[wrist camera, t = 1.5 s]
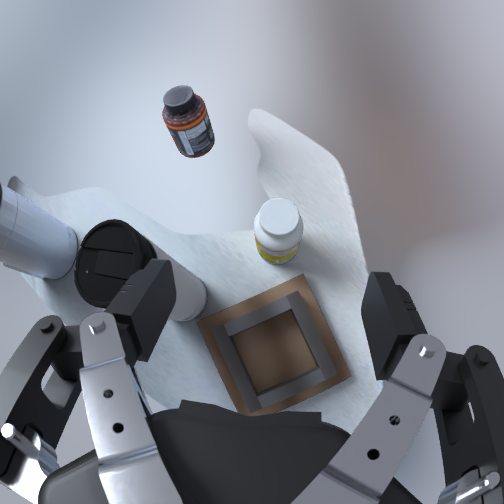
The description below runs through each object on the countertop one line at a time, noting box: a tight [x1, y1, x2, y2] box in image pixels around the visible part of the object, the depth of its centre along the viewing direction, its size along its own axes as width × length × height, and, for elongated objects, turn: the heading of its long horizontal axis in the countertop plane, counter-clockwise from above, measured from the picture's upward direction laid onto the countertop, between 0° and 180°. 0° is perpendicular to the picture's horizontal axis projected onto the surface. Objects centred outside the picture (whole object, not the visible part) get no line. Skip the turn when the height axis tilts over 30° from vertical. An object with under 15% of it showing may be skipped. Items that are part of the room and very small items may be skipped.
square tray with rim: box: [197, 274, 351, 416], centre depth 32 cm, size 14×14×4 cm
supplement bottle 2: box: [254, 198, 303, 264], centre depth 33 cm, size 5×5×10 cm
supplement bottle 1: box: [162, 86, 215, 158], centre depth 37 cm, size 6×6×11 cm
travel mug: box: [74, 219, 207, 322], centre depth 27 cm, size 6×7×20 cm
